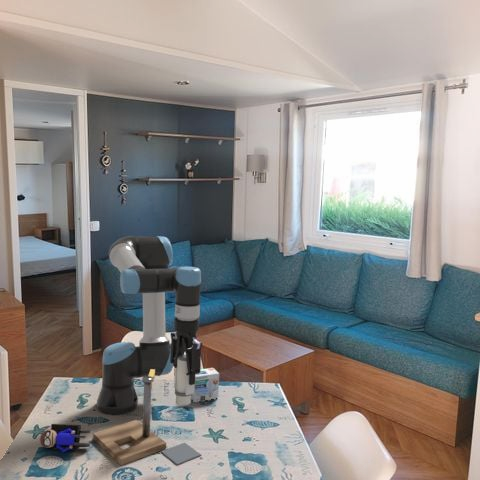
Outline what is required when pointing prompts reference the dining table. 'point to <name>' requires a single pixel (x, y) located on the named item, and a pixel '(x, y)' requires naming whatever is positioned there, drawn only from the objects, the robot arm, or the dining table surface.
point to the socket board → (128, 433)
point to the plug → (182, 382)
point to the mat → (180, 453)
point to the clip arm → (152, 375)
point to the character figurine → (64, 437)
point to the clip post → (147, 405)
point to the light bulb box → (206, 385)
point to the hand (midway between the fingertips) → (183, 390)
